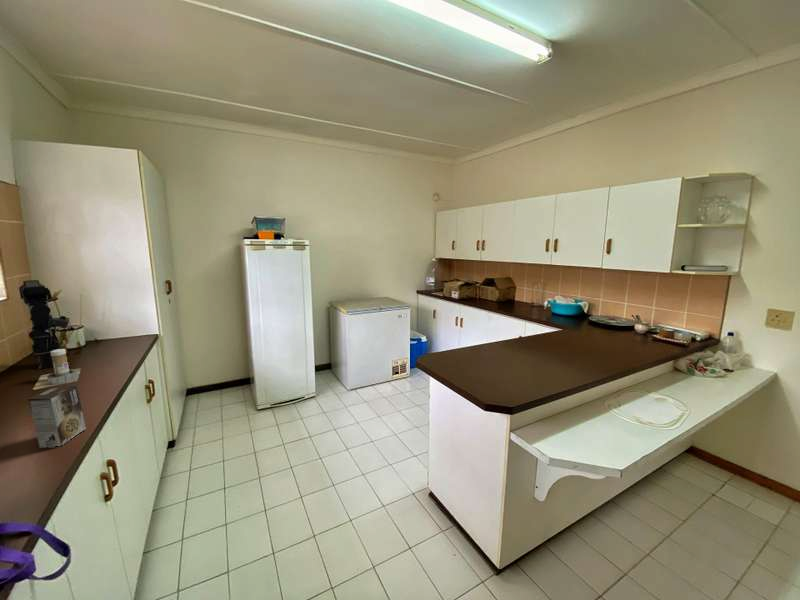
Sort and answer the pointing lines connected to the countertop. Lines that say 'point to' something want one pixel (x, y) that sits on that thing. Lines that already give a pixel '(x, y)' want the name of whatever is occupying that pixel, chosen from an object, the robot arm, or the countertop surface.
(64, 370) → the sprinkles bottle
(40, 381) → the birch board
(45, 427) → the coffee box
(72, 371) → the steel collar
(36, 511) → the countertop surface
